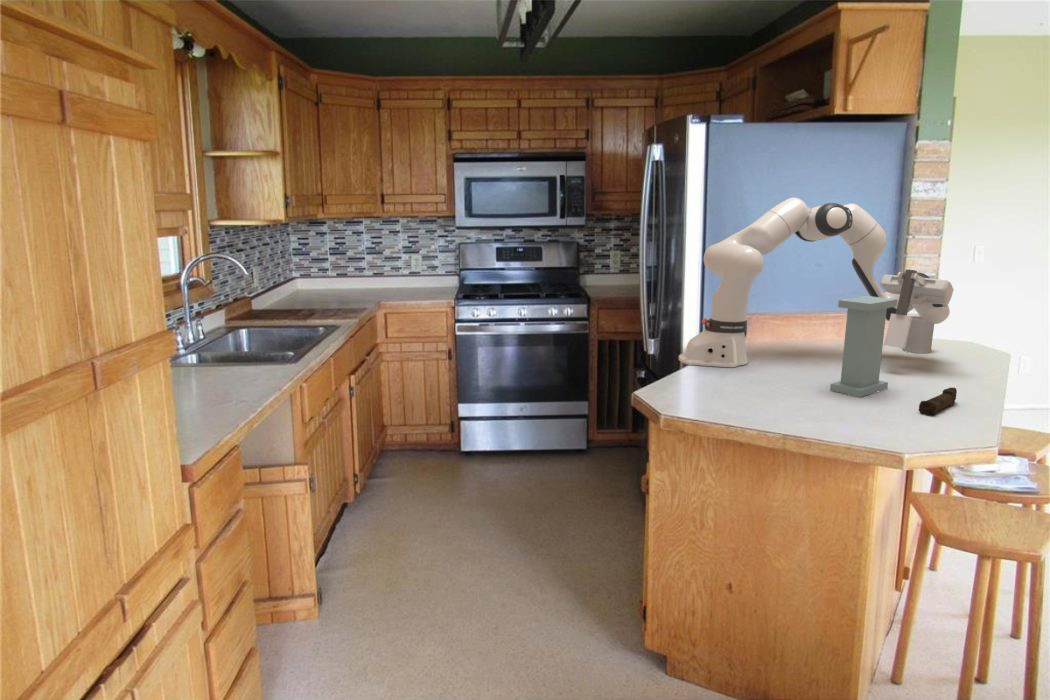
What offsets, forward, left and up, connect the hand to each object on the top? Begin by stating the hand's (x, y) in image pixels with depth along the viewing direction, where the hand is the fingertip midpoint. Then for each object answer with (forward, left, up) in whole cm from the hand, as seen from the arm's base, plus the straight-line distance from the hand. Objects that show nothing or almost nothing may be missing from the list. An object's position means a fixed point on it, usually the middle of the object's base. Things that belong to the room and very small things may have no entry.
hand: (906, 274), depth 223 cm
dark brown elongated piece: (-6, -40, -31) cm, 51 cm away
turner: (0, 0, -11) cm, 11 cm away
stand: (-20, -23, -31) cm, 43 cm away
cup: (+21, +34, -31) cm, 51 cm away
